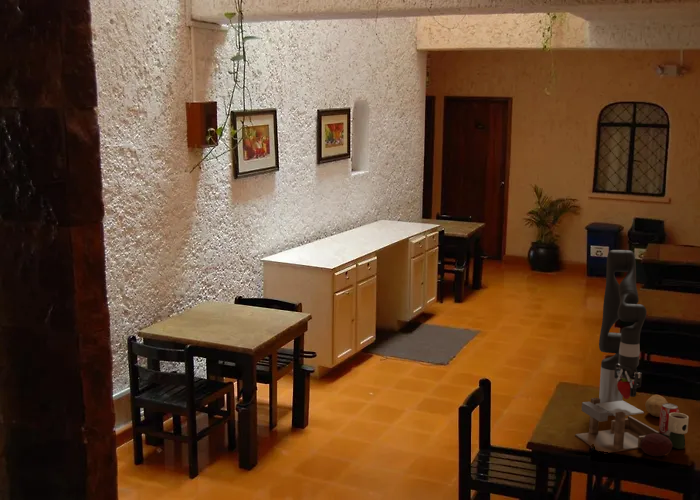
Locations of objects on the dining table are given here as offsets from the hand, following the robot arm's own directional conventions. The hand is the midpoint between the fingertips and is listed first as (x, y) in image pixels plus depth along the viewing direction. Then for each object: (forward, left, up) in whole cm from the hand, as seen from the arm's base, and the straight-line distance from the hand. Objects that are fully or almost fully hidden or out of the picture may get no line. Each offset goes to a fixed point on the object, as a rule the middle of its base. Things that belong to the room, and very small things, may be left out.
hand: (626, 393), depth 301 cm
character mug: (-15, +12, -20) cm, 28 cm away
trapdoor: (+6, 0, -8) cm, 10 cm away
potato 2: (-2, +16, -20) cm, 26 cm away
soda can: (-21, 0, -20) cm, 29 cm away
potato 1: (-30, -18, -20) cm, 40 cm away
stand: (+4, 0, -19) cm, 20 cm away
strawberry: (0, 0, -3) cm, 3 cm away
